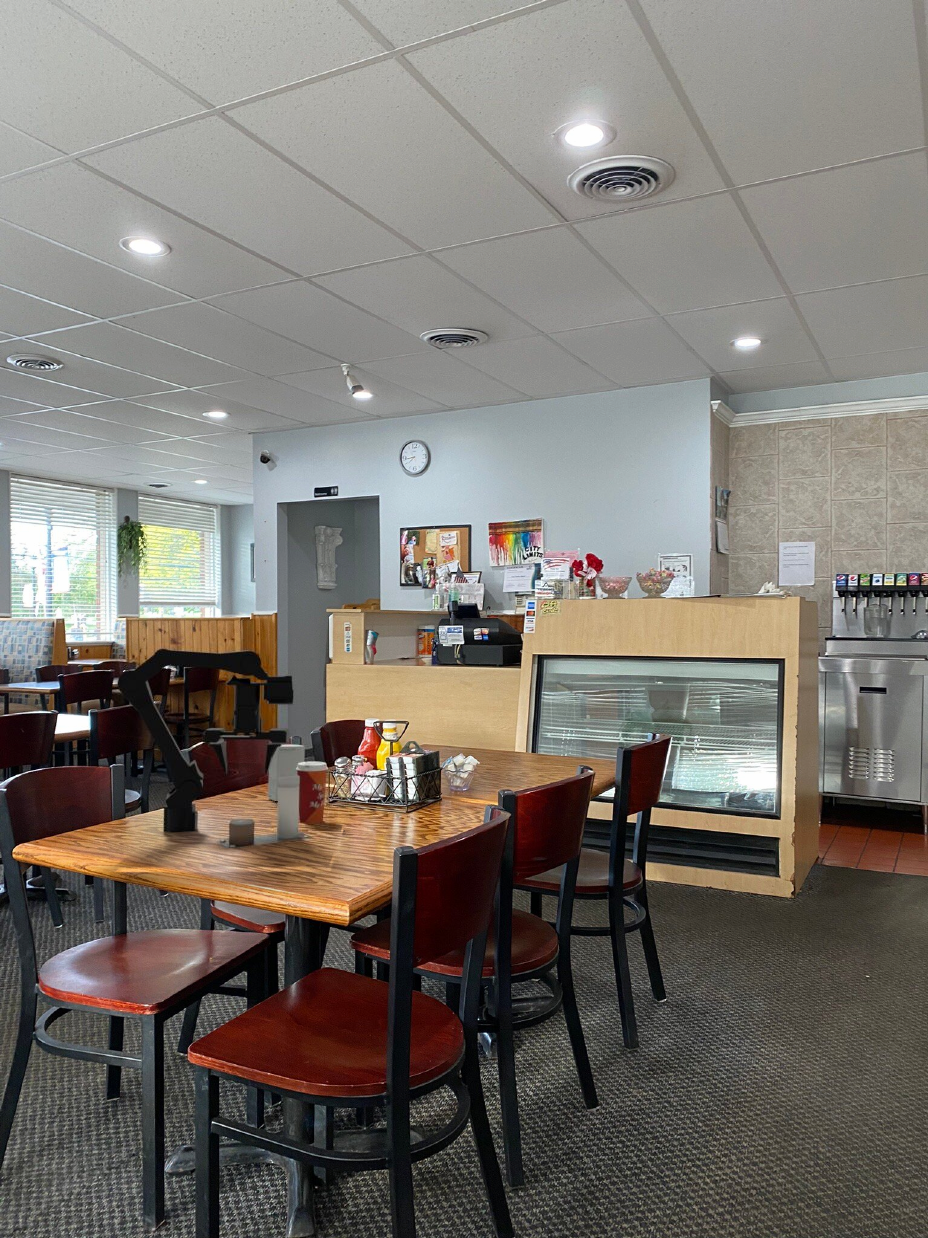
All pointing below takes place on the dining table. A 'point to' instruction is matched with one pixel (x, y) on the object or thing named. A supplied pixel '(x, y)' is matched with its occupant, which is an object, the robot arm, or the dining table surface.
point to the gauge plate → (264, 840)
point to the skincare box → (283, 766)
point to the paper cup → (311, 791)
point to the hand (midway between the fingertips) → (246, 773)
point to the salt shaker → (288, 806)
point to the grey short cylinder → (241, 831)
